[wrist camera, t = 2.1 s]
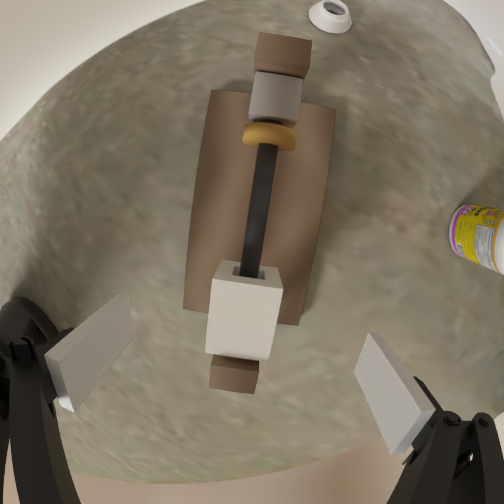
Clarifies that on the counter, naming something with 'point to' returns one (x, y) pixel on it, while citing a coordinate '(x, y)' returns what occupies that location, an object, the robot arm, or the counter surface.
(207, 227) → the brown stand with rod
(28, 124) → the counter surface
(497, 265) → the supplement bottle
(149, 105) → the counter surface
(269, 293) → the sleeve
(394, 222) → the counter surface
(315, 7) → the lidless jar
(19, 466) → the robot arm
